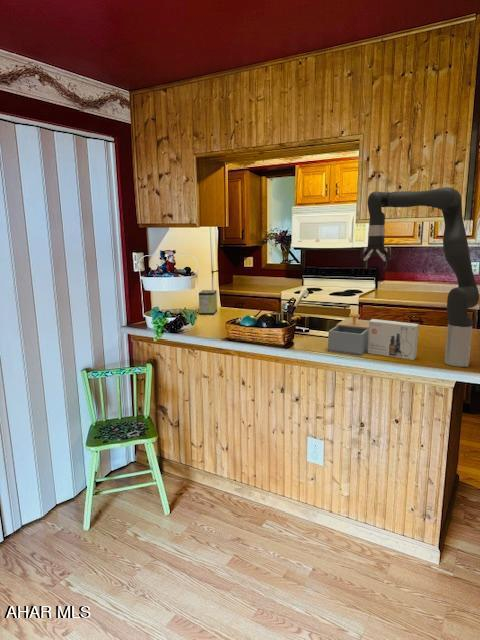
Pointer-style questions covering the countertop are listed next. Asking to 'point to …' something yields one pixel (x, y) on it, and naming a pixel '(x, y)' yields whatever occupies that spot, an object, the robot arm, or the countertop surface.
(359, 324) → the carton lid
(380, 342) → the skincare box
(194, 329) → the countertop surface
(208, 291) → the protein box
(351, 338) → the carton
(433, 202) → the robot arm
